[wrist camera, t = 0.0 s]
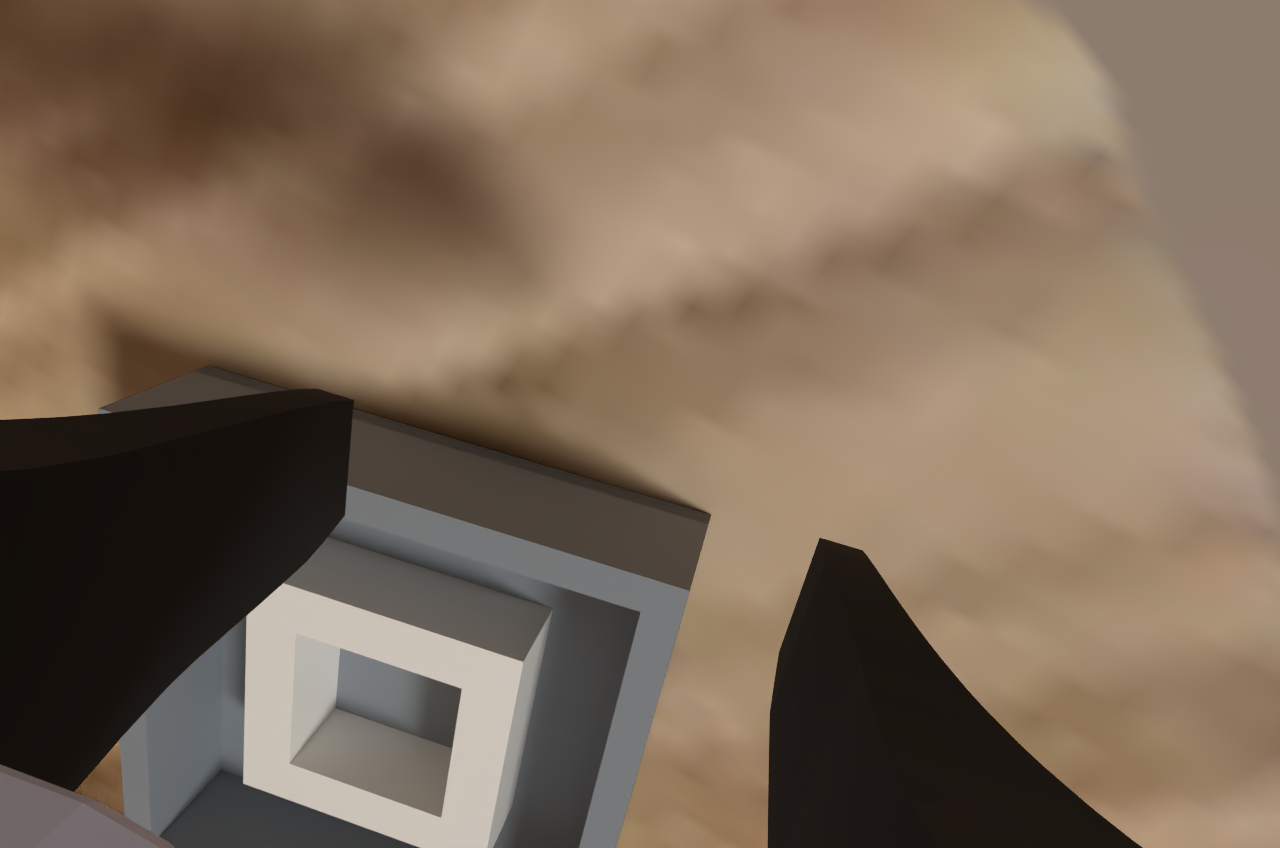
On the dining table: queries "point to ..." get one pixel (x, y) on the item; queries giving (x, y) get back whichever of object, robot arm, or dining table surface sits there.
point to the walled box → (563, 705)
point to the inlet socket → (372, 752)
